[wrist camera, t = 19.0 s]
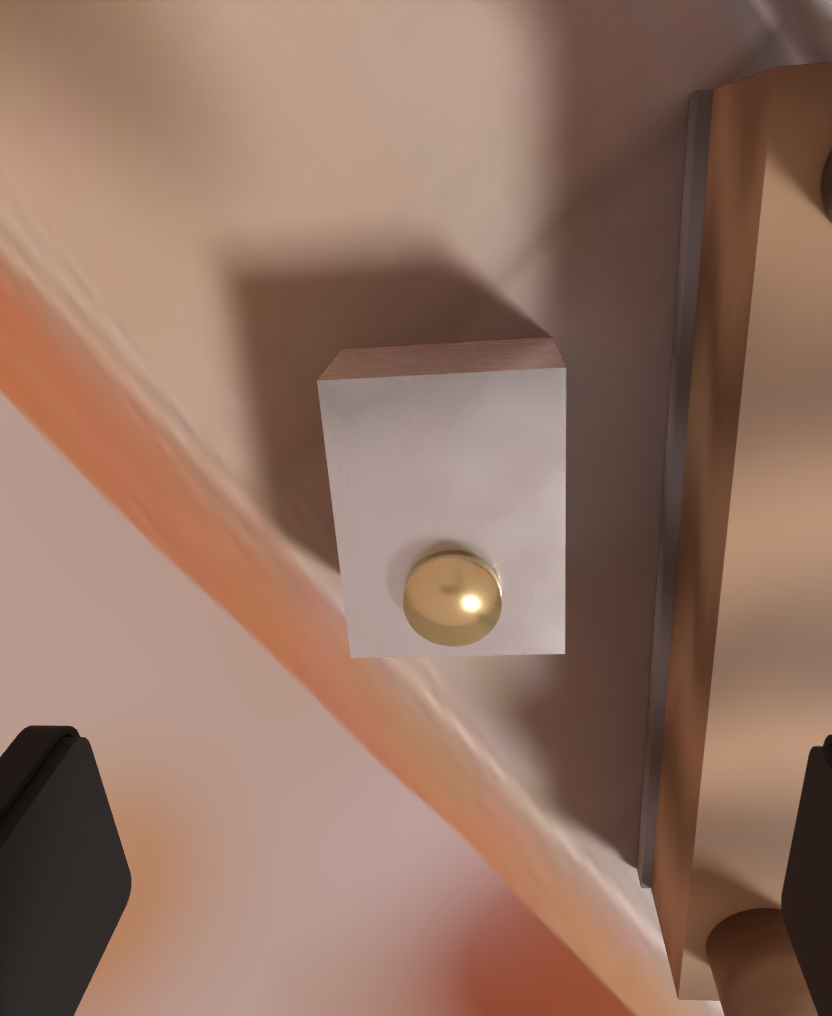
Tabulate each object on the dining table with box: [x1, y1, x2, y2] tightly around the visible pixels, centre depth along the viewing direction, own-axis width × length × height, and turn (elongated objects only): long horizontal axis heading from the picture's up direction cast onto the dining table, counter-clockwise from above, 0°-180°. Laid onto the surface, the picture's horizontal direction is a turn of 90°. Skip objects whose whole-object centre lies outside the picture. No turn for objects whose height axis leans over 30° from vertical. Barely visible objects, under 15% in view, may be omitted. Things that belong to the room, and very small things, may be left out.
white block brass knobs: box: [317, 337, 566, 658], centre depth 22 cm, size 8×6×5 cm
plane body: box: [637, 62, 832, 1016], centre depth 20 cm, size 26×5×8 cm, turn 3°
